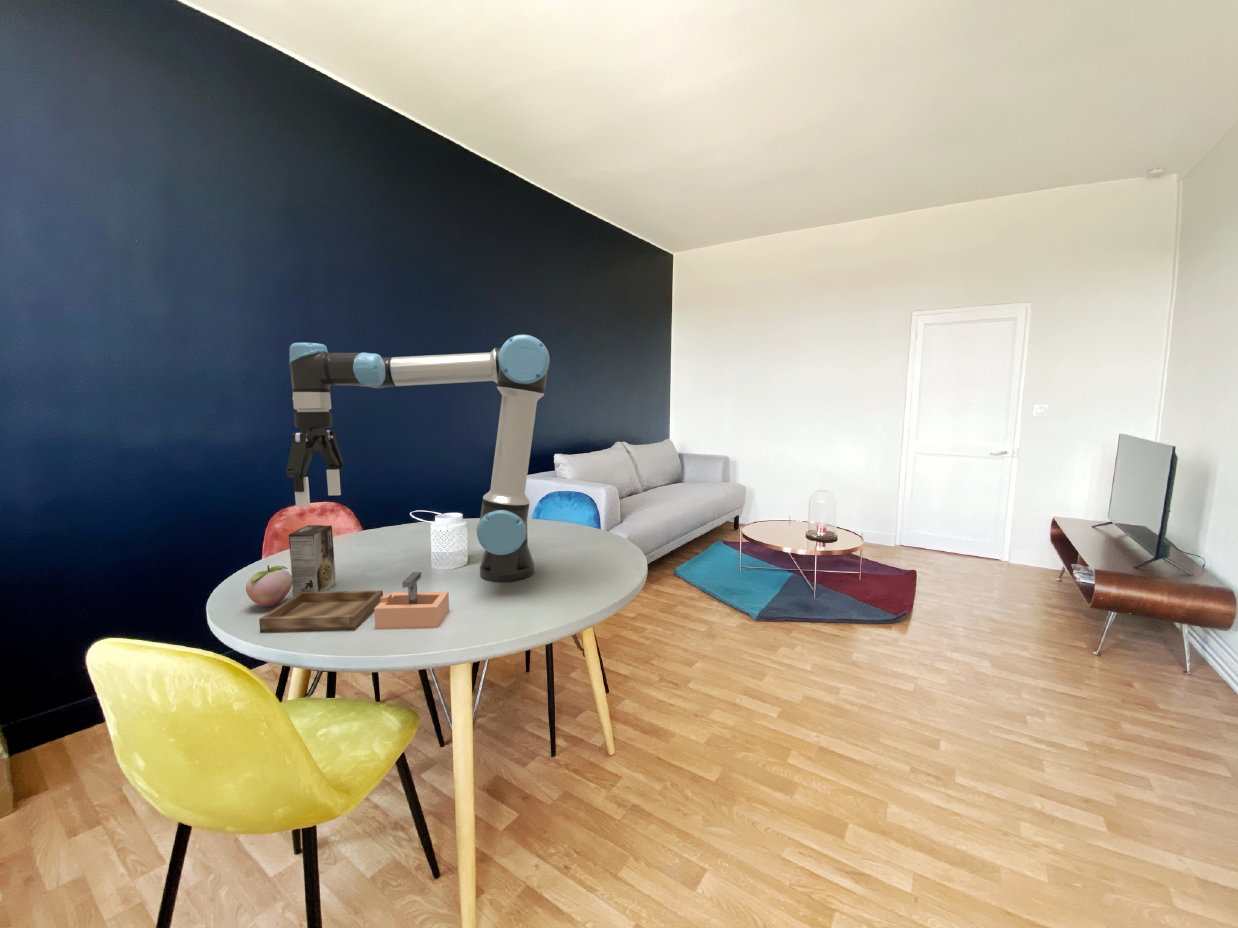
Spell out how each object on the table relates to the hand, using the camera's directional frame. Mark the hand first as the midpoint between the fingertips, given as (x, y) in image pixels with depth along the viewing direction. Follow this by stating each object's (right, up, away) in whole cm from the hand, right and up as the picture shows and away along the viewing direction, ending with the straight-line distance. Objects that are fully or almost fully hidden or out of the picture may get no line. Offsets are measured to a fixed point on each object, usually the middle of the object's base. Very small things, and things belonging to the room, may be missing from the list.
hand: (319, 500), depth 117 cm
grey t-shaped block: (+26, -26, -8) cm, 37 cm away
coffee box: (-6, -24, +9) cm, 26 cm away
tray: (+6, -26, -7) cm, 27 cm away
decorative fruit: (-11, -25, -2) cm, 27 cm away
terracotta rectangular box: (+26, -26, -8) cm, 37 cm away
